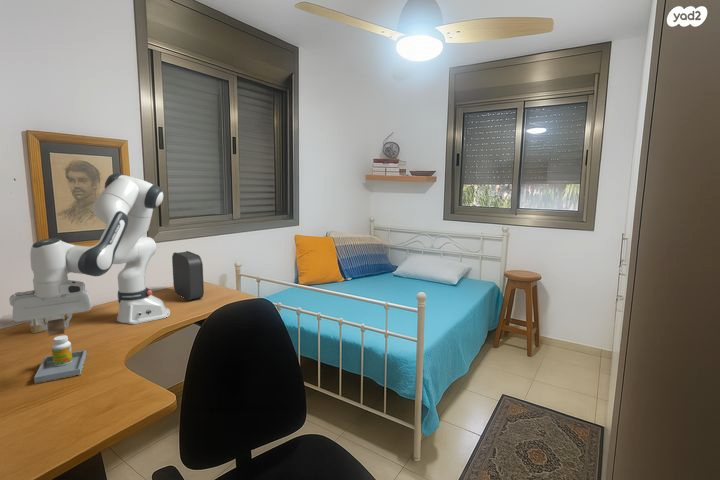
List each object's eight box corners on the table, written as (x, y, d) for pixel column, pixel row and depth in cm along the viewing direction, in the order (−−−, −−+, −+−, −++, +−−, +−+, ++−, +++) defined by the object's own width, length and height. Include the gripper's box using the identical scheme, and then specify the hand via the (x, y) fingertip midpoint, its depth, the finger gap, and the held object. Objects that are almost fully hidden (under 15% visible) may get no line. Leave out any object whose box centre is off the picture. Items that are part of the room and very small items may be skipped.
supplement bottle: (51, 367, 130) (48, 341, 128) (55, 361, 134) (52, 335, 133) (70, 364, 132) (68, 339, 131) (74, 358, 137) (71, 333, 135)
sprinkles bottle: (43, 332, 159) (40, 302, 157) (29, 334, 157) (26, 304, 155) (45, 328, 163) (42, 299, 161) (31, 330, 160) (28, 300, 158)
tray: (86, 355, 140) (85, 349, 139) (80, 375, 126) (79, 369, 126) (45, 362, 134) (45, 356, 133) (34, 384, 120) (34, 377, 120)
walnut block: (64, 329, 127) (63, 318, 126) (64, 333, 123) (63, 322, 123) (49, 332, 124) (48, 320, 123) (48, 336, 121) (47, 324, 120)
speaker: (173, 292, 218) (171, 251, 214) (188, 289, 224) (186, 249, 220) (191, 302, 201) (189, 258, 197) (206, 299, 207) (204, 256, 203)
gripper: (7, 296, 112) (12, 338, 115) (89, 285, 125) (93, 324, 127) (10, 290, 117) (15, 331, 120) (89, 281, 130) (92, 318, 132)
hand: (56, 327), depth 123 cm, fingers closed on walnut block, 4 cm apart
